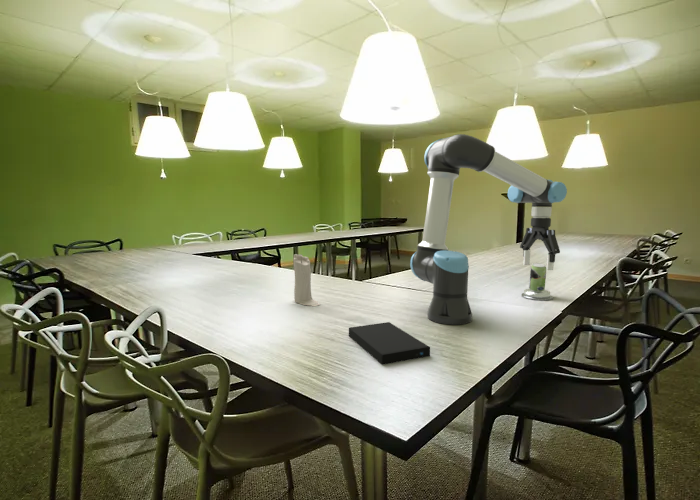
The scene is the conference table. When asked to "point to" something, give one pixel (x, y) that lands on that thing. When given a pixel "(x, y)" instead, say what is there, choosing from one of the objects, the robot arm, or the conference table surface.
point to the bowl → (537, 295)
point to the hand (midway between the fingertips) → (537, 267)
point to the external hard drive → (388, 343)
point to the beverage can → (537, 277)
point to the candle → (303, 281)
